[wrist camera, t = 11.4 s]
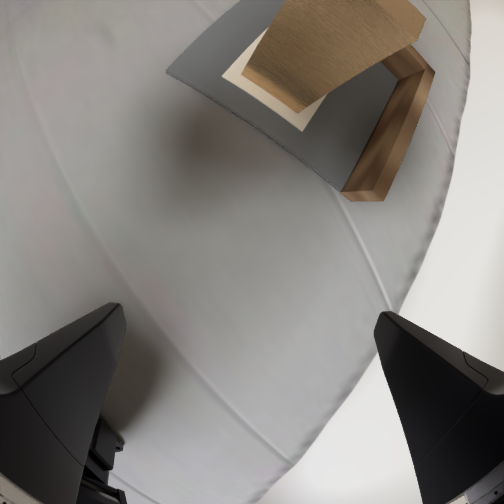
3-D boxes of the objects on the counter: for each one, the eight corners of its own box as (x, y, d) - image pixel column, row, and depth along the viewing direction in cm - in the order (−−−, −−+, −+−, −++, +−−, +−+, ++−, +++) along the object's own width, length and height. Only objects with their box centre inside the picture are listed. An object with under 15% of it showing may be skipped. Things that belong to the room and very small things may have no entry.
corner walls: (350, 201, 21) (383, 201, 17) (166, 72, 16) (165, 44, 12) (408, 83, 21) (435, 72, 17) (274, -23, 16) (289, -47, 12)
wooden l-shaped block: (297, 113, 18) (416, 40, 7) (240, 74, 17) (315, -41, 6) (337, 56, 19) (437, -10, 7) (290, 22, 17) (368, -67, 6)
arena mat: (338, 190, 21) (342, 190, 20) (166, 72, 16) (166, 69, 16) (395, 80, 21) (398, 79, 20) (266, -18, 16) (268, -21, 16)
